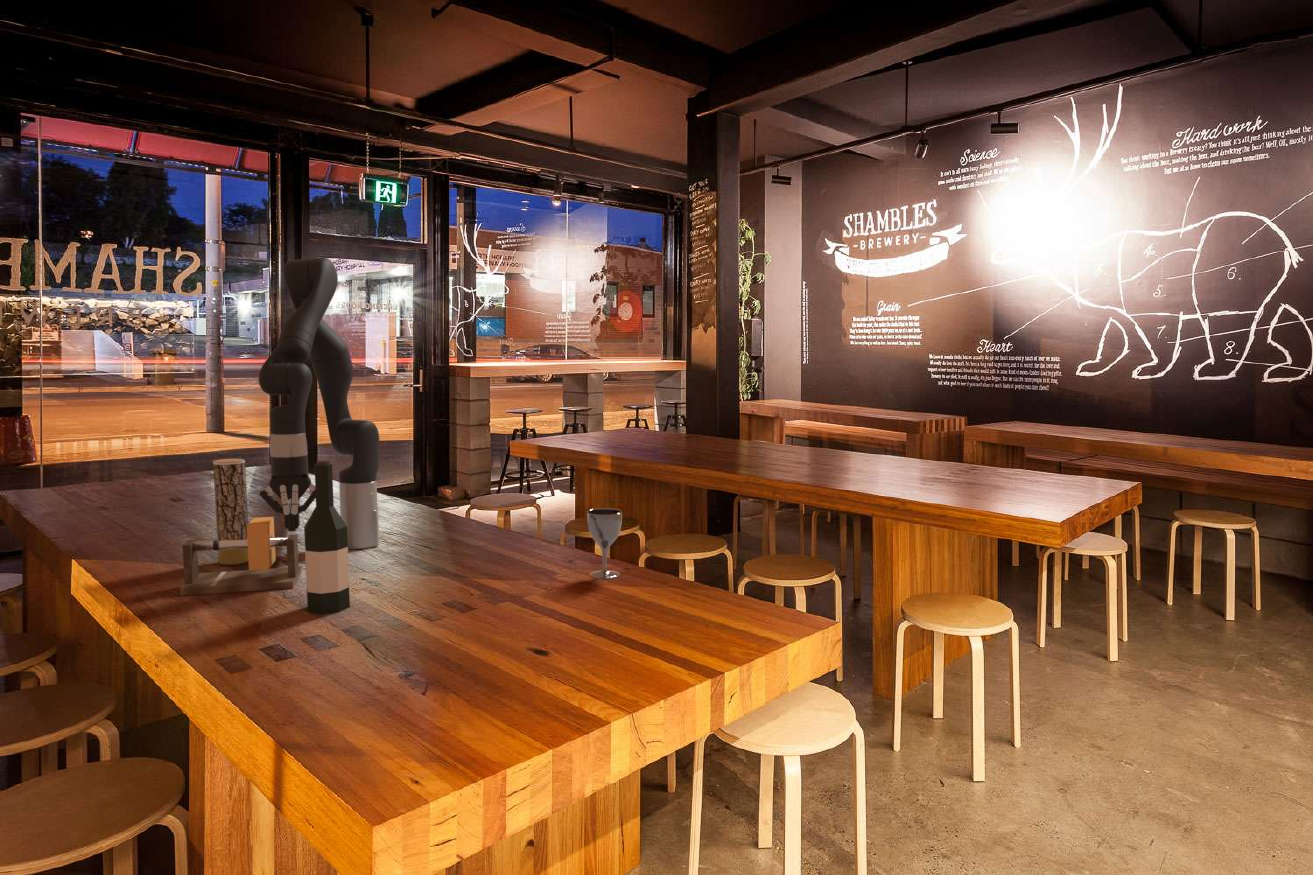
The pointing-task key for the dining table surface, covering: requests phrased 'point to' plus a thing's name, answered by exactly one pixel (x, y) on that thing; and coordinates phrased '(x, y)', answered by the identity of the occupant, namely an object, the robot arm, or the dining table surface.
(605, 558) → the wine glass
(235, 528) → the bark log section
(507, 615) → the dining table surface
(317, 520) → the wine bottle
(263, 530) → the collar
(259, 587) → the pipe stand
